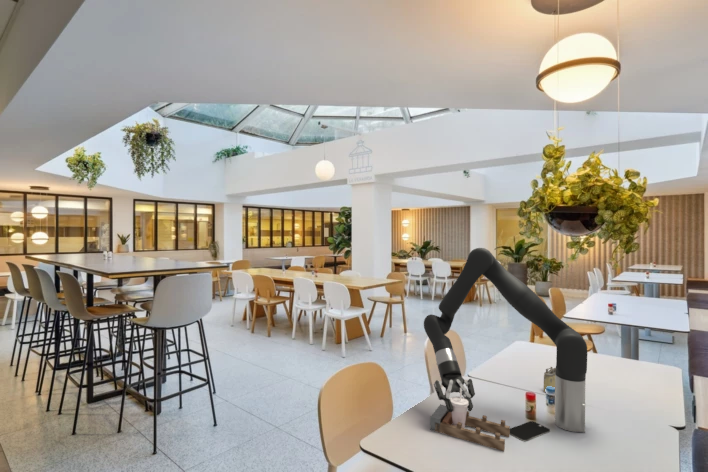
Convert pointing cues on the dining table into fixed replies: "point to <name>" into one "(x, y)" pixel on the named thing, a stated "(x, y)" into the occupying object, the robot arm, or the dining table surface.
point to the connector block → (438, 416)
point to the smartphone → (528, 431)
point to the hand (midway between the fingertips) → (461, 410)
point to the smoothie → (459, 409)
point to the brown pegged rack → (476, 435)
